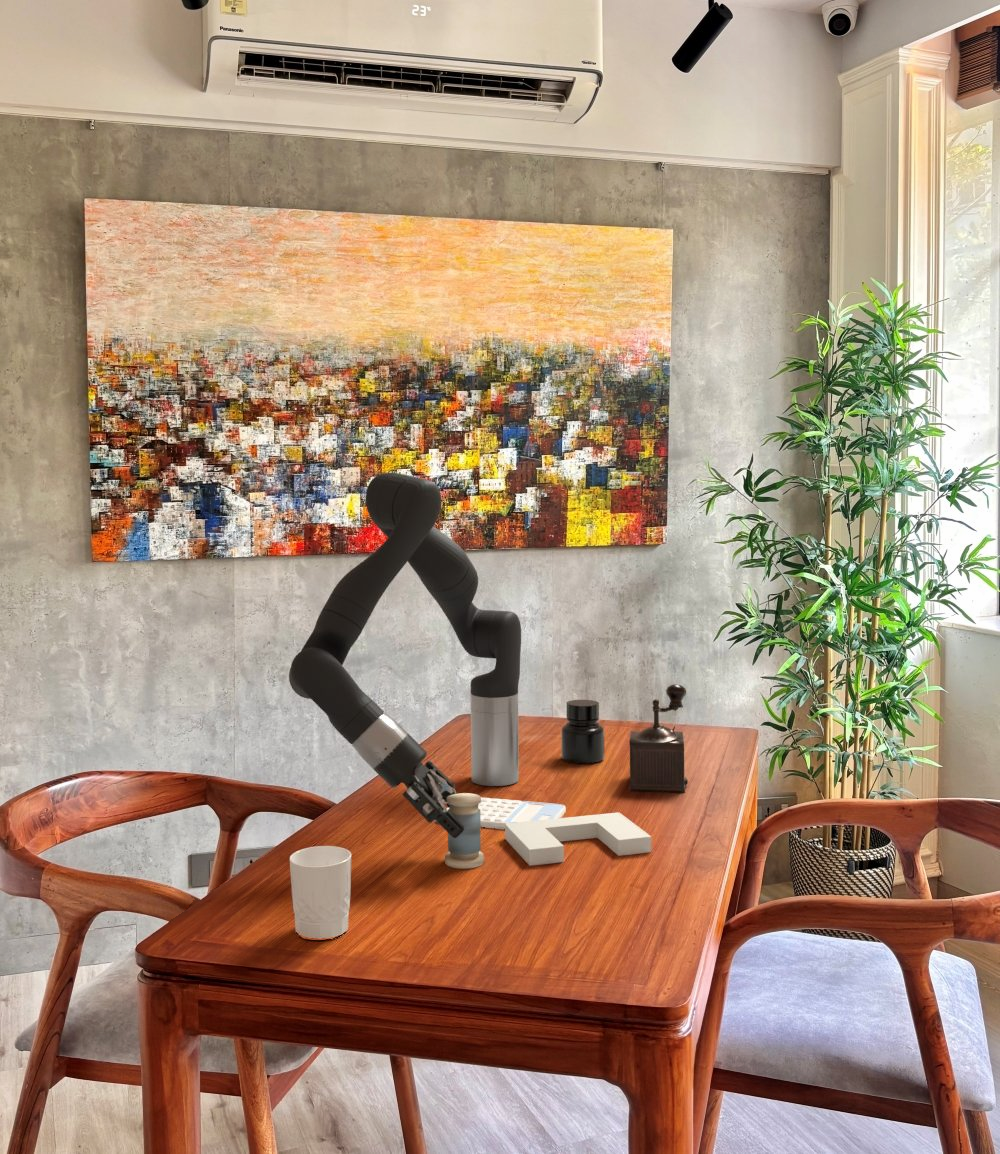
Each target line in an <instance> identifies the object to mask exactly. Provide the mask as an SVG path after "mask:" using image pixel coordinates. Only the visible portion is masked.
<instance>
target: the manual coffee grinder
mask: <svg viewBox="0 0 1000 1154" xmlns="http://www.w3.org/2000/svg"><path fill="white" fill-rule="evenodd" d="M665 691H666V692H665V693H666V695H667V697H668V698H669V700H670V701H669V704H668V706H667V707H660V706H659V704H660V700H659V699H653V701H652V705H653V706H652V712H653V724H652V726H648V727H647V728H644V729H642V730H641V731H638V730H637V731H636V730H634V731H632V730H631V731H630V733H629V734H630V735H629V738H628V739H629V740H628V741H629V791H630V792H638V793H639V792H640V793H641V792H642V793H671V794H673V793H675V794H676V793H677V794H678V793H679V794H680V793H681V794H682V793H683V794H685V792H686V787H687V785H688V783H689V782H688V780H689V779H688V778H687V777H685V736H684V734H683V731H675V729H676V726H673V728H669V727H667V726H665V725H660V718H659V716H660V714H659V713H667V712H670V711H674V712H677V710H678V709H682V708H683V707H684V706H683V702H682V701H683V699H684V698H685V697H686V694H687V689H686V688H685V687H684V686H683V685H681V684H671V685H669V686H667V688H666V690H665Z"/></svg>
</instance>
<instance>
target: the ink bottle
mask: <svg viewBox="0 0 1000 1154" xmlns="http://www.w3.org/2000/svg"><path fill="white" fill-rule="evenodd" d="M599 720H600V702H599V701H597V700H592V699H572V700H568V701H566V721H567V722H566V723H565V724H564V725H563V726H562V727H561V732H560V733H561V734H560V735H561V736H560V737H561V744H560V745H561V747H560V748H561V751H560V752H561V759H562V760H563V761H565V762H567V761H568V762H569V763H572V762H573V764H580V763H583V765H585V764H586V765H587V764H595V762H596V763H599V762H601V761H602V760H604V758H605V729H604V727H603V726H602V725H601V724H600V722H598V721H599Z"/></svg>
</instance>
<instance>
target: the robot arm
mask: <svg viewBox="0 0 1000 1154" xmlns="http://www.w3.org/2000/svg"><path fill="white" fill-rule="evenodd" d="M365 505H366V510H367V513H368V516H369V517H370V519H371V521H372V522H373V523H374V524H375V526H376V527H377V528H379V530H380V531H381V532H382V533H383V534H384V535H385V536H386V537H387V538H386V539H385V541H384V542H383V543H382V544H381V545H380V546H379V547H378V548H377V549H376V550H375V551H374V552H373V553H372V554H370V555H369V556H367V558H365V559H364V560H363V561H361V562H360V563H358V564H357V565H356V566H354V567H353V568H352V569H350V570H349V571H348V572H347V573H346V574H345V575H344V576H343V577H342V578H341V579H340V580H339V581H338V583H337V584H336V586H334V588H333V590H332V591H331V592H330V595H329V597H328V599H327V601H326V602H325V604H324V606H323V608H322V610H321V611H320V613H319V615H318V618H317V620H316V622H315V626H314V628H313V630H312V632H311V634H310V635H309V637H308V638H307V640H306V642H305V644H304V645H303V647H302V649H301V650H300V651H299V652H298V653H297V654H296V655H295V657H294V658H293V659H292V662H291V664H290V668H289V672H288V681H289V685H290V687H291V689H292V690H293V692H294V693H295V694H297V695H298V696H299V697H301V698H304V699H307V700H312V702H313V703H314V704H315V705H317V707H318V708H320V710H321V711H323V712H324V713H325V714H326V716H327V719H328V721H329V722H330V724H331V725H332V727H333V728H334V729H335V730H336V731H337V732H338V733H339V734H340V735H341V736H342V737H343V738H344V739H345V740H346V741H347V742H348V743H349V744H350V745H351V746H352V747H353V748H354V750H355V751H356V752H357V754H358V755H359V756H360V757H361V759H362V760H363V761H364V762H365V763H366V764H368V765H369V767H371V768H372V769H373V770H374V772H376V774H377V775H378V776H380V778H381V779H383V781H384V782H385V783H386V784H387V785H388V786H389V787H391V788H392V789H393V788H394V789H395V788H397V787H398V786H400V785H401V784H404V786H405V787H406V788H407V789H405V790H404V791H403V793H402V796H403V798H405V799H406V800H407V801H408V802H409V804H411V805H412V807H413V808H414V809H415V810H416V811H417V812H418V813H419V814H420V815H421V816H422V817H423V818H424V819H425V820H426V822H428V823H429V824H432V822H434V823H438V824H439V826H441V827H442V828H443V829H444V831H446V832H447V834H448V833H449V834H450V835H451V836H452V837H453V838H457V837H458V836H459V835H460V834H461V833H462V832H463V831H464V826H463V825H462V824H461V823H460V822H459V821H458V820H457V819H456V818H455V817H454V816H453V815H452V814H451V813H450V812H449V811H447V809H446V808H447V807H449V804H448V803H447V797H448V796H450V795H453V794H457V791H456V789H455V788H456V784H455V783H454V782H453V781H452V780H451V779H449V778H448V776H446V775H445V773H443V772H442V771H441V770H440V769H439V768H438V767H437V766H436V765H435V764H434V763H433V762H432V761H431V760H428V761H426V762H425V763H424V764H423V763H422V762H423V761H424V760H425V759H426V757H427V755H428V753H427V751H426V750H425V749H424V748H423V747H422V746H421V745H420V743H418V741H416V740H415V739H414V738H413V736H411V734H409V732H407V731H406V729H405V728H404V727H402V725H400V724H399V723H398V721H396V719H394V718H392V717H391V716H390V715H389V714H387V713H386V712H385V711H384V710H383V709H382V707H380V706H379V705H378V704H377V703H376V702H375V701H374V700H373V699H372V698H371V697H370V696H368V695H367V693H365V692H364V691H363V690H362V688H360V686H359V685H358V684H357V682H356V681H355V680H354V678H353V677H352V676H351V674H350V673H349V672H348V671H347V670H346V668H345V667H344V666H343V664H344V662H345V660H346V658H347V657H348V654H349V652H350V650H351V648H352V647H353V645H354V644H355V643H356V641H357V640H358V639H359V637H360V636H361V634H362V632H363V630H364V629H365V626H366V624H367V623H368V621H369V619H370V618H371V616H372V614H373V612H374V610H375V608H376V606H377V604H378V603H379V601H380V599H381V597H382V596H383V594H384V593H385V592H386V590H387V588H388V587H389V586H390V584H391V583H392V582H393V580H394V579H395V578H396V577H397V576H398V574H399V573H400V571H401V570H402V569H403V568H404V567H405V565H406V564H407V563H408V564H409V565H410V567H411V568H412V569H413V571H414V572H415V573H416V575H417V576H418V578H419V579H420V581H421V582H422V584H423V585H424V587H425V588H426V590H427V591H428V592H429V594H430V596H431V597H432V598H433V599H434V600H435V602H436V603H437V604H438V606H439V608H440V609H441V610H442V612H443V614H444V615H445V617H446V618H447V621H448V622H449V623H450V625H451V627H452V629H453V630H454V633H455V634H456V637H457V639H458V641H459V643H460V644H461V646H462V647H463V649H464V650H465V652H466V653H467V654H469V656H472V657H475V658H482V659H493V660H494V659H495V665H494V669H492V670H491V671H489V672H487V673H483V674H480V675H477V676H474V677H472V679H471V681H470V737H471V738H470V746H471V747H470V749H471V750H470V752H471V753H470V755H471V757H470V763H471V764H470V765H471V767H470V769H471V770H470V771H471V772H470V773H471V778H470V779H471V782H472V783H474V784H476V785H480V786H483V787H484V786H485V787H503V786H509V785H513V784H516V783H518V781H519V779H520V778H519V776H520V774H519V773H520V770H519V764H520V763H519V760H520V759H519V758H520V757H519V756H520V755H519V744H520V743H519V741H520V740H519V682H520V675H521V674H520V673H521V650H522V649H521V647H522V626H521V621H520V619H519V616H518V615H517V614H516V612H514V611H507V610H495V609H494V610H492V609H491V610H490V609H480V608H478V607H476V605H474V603H473V600H474V599H475V596H476V594H477V590H478V587H479V576H478V571H477V570H476V568H475V566H474V564H473V562H472V561H471V559H470V558H469V556H468V555H467V554H466V552H465V550H464V549H462V547H461V546H460V545H459V544H458V543H457V542H455V541H454V540H453V539H451V538H450V537H449V536H448V535H446V534H445V533H443V532H442V531H441V530H439V529H438V528H437V527H435V524H436V522H437V520H438V518H439V515H440V513H441V508H442V494H441V491H440V489H439V487H438V485H437V484H435V483H434V482H433V481H431V480H428V479H425V478H421V477H416V476H413V475H407V474H404V473H399V472H398V473H397V472H383V473H381V474H378V475H376V476H374V477H373V478H372V480H371V481H370V482H369V483H368V486H367V488H366V492H365ZM445 805H446V806H445Z"/></svg>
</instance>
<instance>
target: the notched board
mask: <svg viewBox="0 0 1000 1154" xmlns="http://www.w3.org/2000/svg"><path fill="white" fill-rule="evenodd" d="M595 838H596V839H599V841H601V842H602V843H603V844H604V845H606V847H608V848H609V849H610V850H611V851H612V852H614V853H615V854H616V855H617V856H618V857H620V856H630V855H636V854H647V853H652V836H651V835H650V834H649V833H647V832H646V831H645V830H643V829H642V828H641V827H639V826H638V825H637V824H636V823H634V822H633V821H631V820H630V819H629V818H628V817H626V816H625V815H623V814H622V813H620V811H619V812H611V813H610V812H609V813H600V814H589V815H579V816H569V817H561V818H558V819H548V820H537V821H527V822H517V823H507V824H505V830H504V840H506V842H507V843H508V844H509V845H510V846H511V847H512V848H513V849H514V851H516V853H517V854H518V855H519V856H520V857H521V858H522V859H523V860H524V861H525V862H526V863H527V865H528V866H531V867H532V866H539V865H548V864H556V863H557V864H558V863H559V864H560V863H564V862H565V846H564V845H563V843H562V842H568V841H576V840H577V841H578V840H585V839H595Z"/></svg>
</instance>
